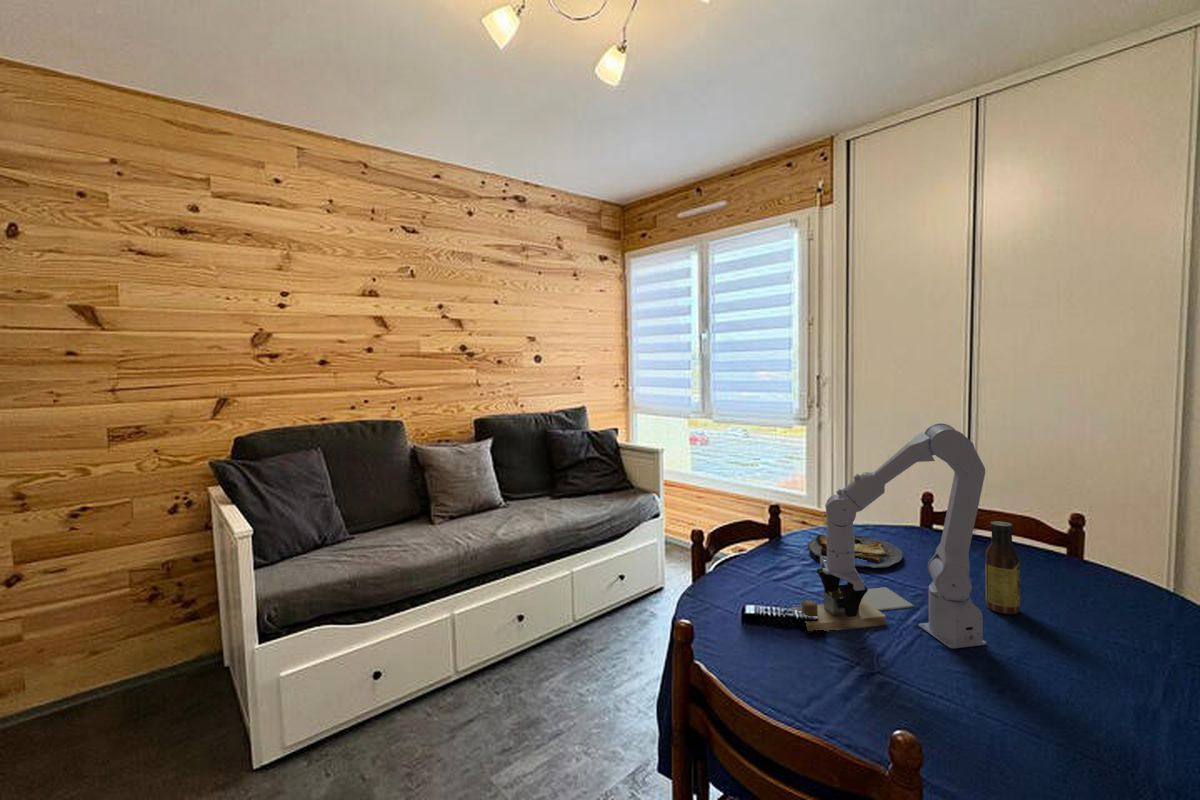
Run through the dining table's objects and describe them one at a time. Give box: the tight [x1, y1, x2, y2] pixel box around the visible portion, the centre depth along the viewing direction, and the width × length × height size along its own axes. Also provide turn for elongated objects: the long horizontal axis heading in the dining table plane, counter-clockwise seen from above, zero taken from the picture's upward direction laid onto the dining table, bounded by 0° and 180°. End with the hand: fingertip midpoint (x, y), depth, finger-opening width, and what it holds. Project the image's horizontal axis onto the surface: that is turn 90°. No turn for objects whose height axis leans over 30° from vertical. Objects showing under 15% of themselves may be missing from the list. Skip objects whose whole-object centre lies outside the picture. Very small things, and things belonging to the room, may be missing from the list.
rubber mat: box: [862, 586, 914, 612], centre depth 129 cm, size 10×10×1 cm
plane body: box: [790, 600, 887, 632], centre depth 121 cm, size 18×8×4 cm, turn 96°
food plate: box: [807, 533, 903, 569], centre depth 157 cm, size 25×23×4 cm
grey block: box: [823, 589, 859, 617], centre depth 121 cm, size 6×4×5 cm, turn 97°
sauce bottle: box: [984, 520, 1021, 615], centre depth 121 cm, size 7×6×20 cm
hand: (841, 607), depth 121 cm, fingers open, 7 cm apart
